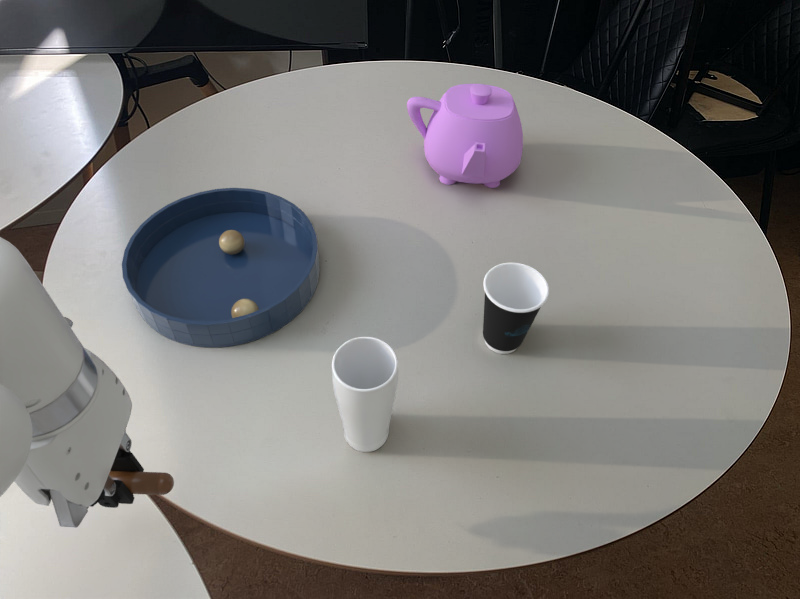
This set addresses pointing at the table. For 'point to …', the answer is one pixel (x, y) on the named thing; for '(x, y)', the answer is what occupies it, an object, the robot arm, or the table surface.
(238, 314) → the bead
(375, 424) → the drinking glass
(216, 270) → the tray
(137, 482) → the stick
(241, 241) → the bead
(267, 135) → the table surface
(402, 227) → the table surface
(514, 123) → the teapot
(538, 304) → the dixie cup
